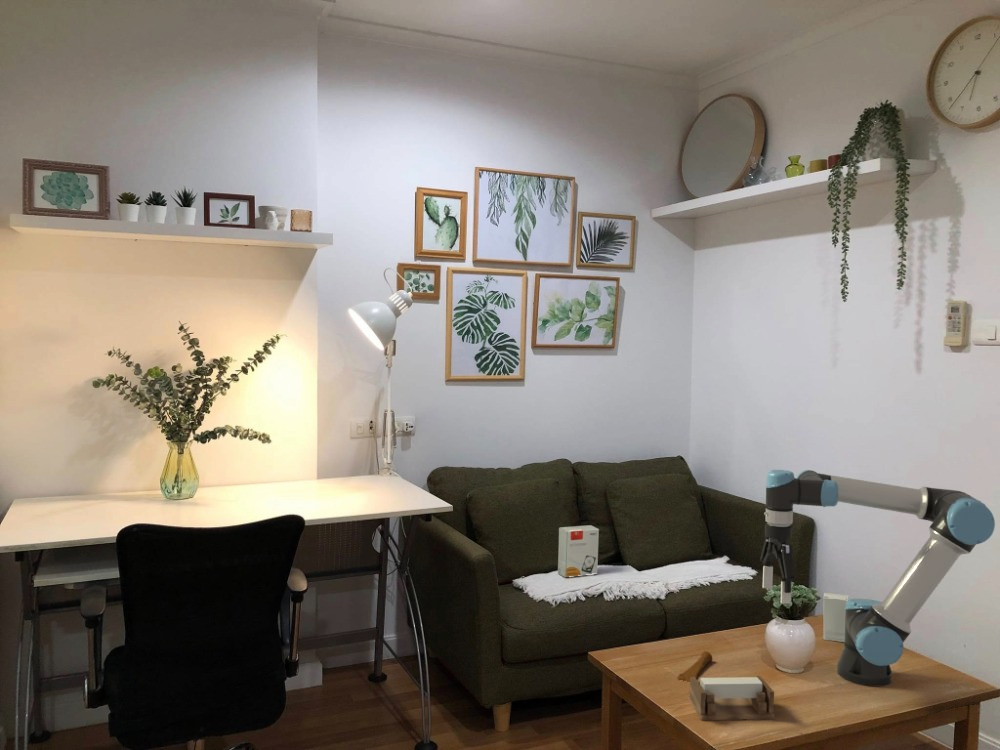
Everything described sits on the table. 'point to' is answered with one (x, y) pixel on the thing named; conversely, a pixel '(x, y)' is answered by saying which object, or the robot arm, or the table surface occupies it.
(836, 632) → the skincare box
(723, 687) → the strip
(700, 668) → the primitive tool
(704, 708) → the rack
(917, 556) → the robot arm
